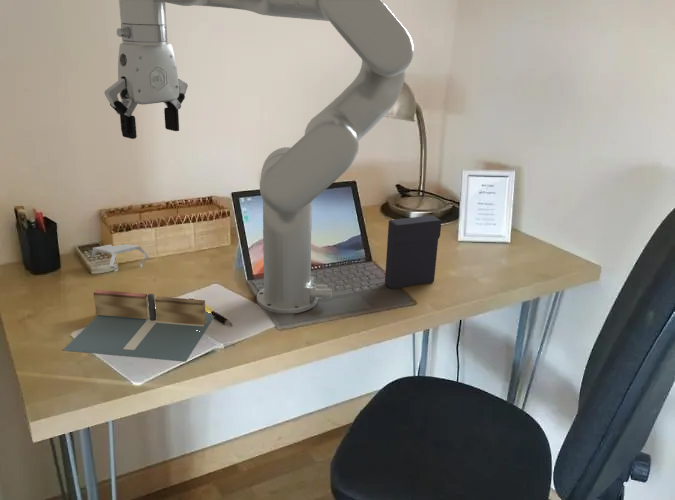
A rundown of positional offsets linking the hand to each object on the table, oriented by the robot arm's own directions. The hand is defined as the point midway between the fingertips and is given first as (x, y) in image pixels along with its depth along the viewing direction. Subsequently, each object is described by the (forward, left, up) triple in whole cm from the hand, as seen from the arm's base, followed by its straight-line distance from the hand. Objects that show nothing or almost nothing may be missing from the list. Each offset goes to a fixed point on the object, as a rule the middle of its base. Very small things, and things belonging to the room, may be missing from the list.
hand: (151, 133), depth 113 cm
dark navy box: (-49, -17, -34) cm, 63 cm away
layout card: (-1, +13, -34) cm, 37 cm away
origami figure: (+16, -14, -35) cm, 41 cm away
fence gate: (+5, +9, -33) cm, 35 cm away
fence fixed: (-6, +9, -34) cm, 35 cm away
